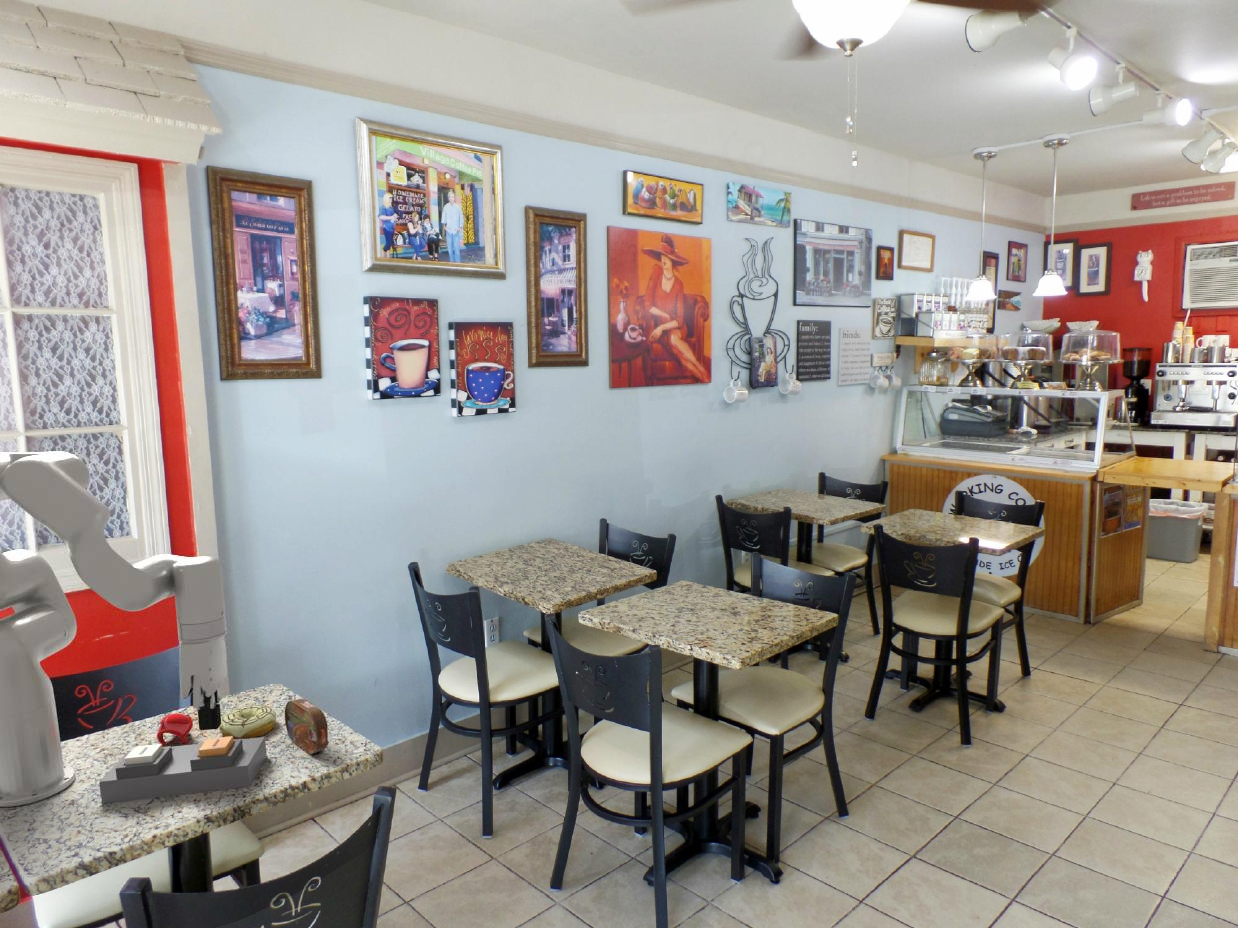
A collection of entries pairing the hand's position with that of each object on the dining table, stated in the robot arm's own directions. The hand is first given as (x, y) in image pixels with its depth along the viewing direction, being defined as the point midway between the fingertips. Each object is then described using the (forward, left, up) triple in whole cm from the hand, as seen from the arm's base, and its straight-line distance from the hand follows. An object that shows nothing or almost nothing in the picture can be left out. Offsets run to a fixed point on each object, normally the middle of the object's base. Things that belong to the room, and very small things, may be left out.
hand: (210, 727), depth 142 cm
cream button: (-11, 0, -5) cm, 13 cm away
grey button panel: (-5, +2, -10) cm, 12 cm away
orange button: (+1, 0, -5) cm, 5 cm away
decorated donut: (0, +21, -11) cm, 23 cm away
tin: (+13, +11, -10) cm, 20 cm away
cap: (-13, +19, -10) cm, 25 cm away
